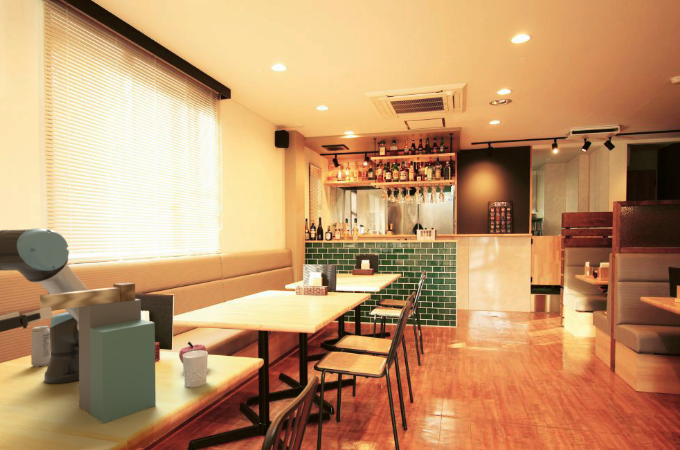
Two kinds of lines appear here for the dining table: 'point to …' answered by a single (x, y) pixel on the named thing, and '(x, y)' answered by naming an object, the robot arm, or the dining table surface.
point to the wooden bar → (89, 297)
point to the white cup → (195, 368)
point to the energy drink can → (40, 346)
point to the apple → (190, 349)
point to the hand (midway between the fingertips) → (34, 314)
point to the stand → (116, 360)
